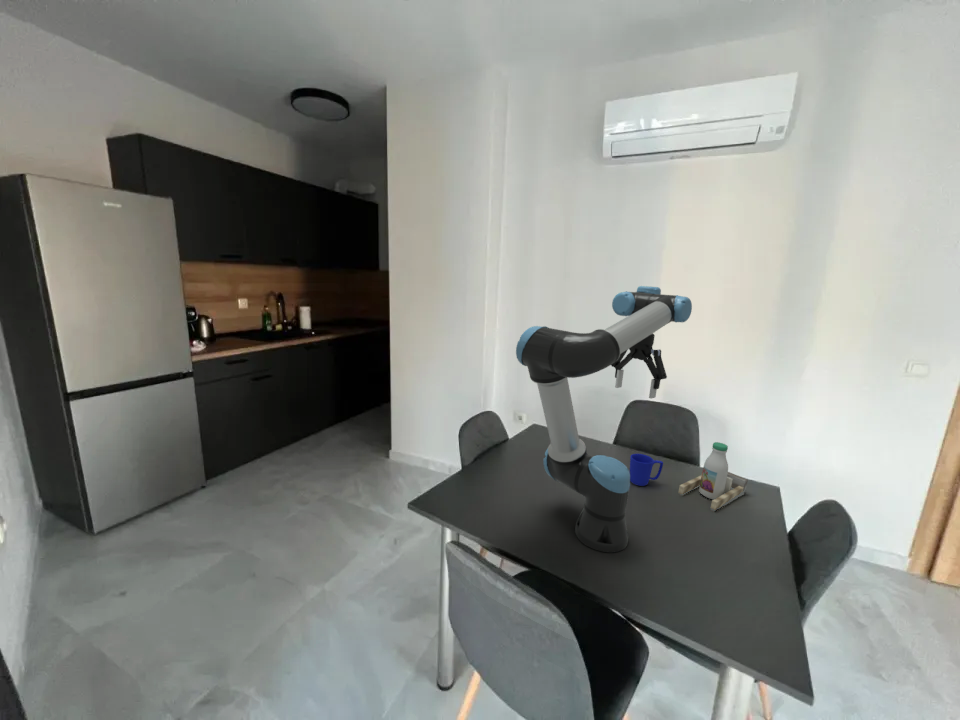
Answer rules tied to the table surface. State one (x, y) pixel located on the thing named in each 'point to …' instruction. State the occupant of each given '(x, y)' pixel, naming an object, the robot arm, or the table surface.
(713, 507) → the lane
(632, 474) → the mug
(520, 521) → the table surface
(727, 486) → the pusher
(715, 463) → the milk bottle
